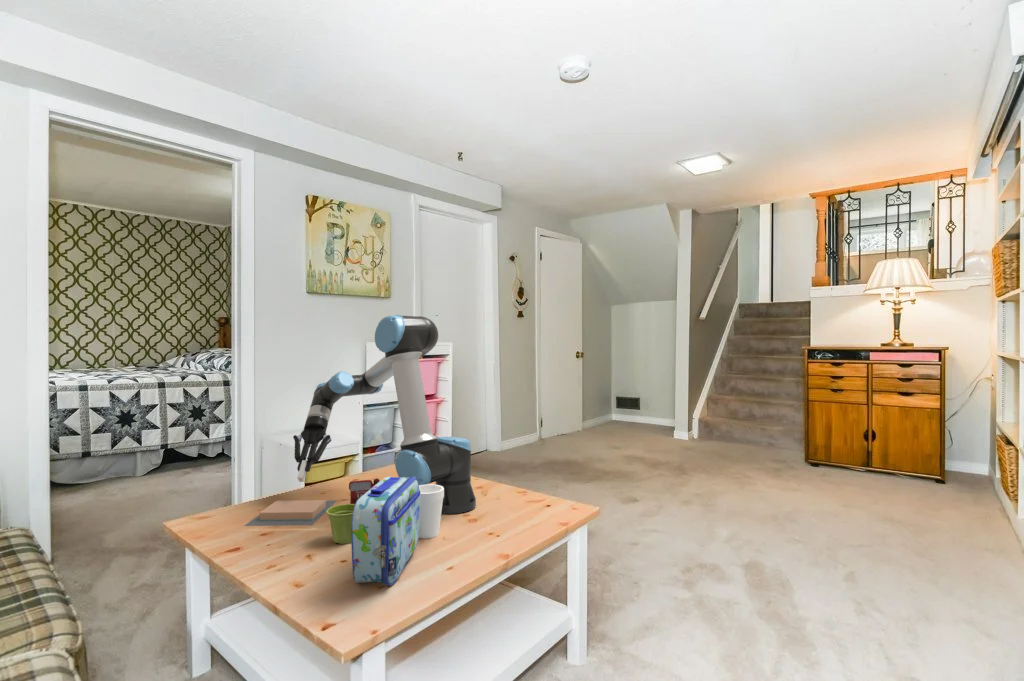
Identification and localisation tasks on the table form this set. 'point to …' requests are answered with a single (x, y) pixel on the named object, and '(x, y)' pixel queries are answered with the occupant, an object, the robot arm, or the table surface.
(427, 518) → the foam cup
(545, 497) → the table surface
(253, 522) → the rubber mat
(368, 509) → the lunch box
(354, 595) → the table surface
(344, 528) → the plant pot
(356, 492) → the toy fire truck
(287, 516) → the terracotta tile
